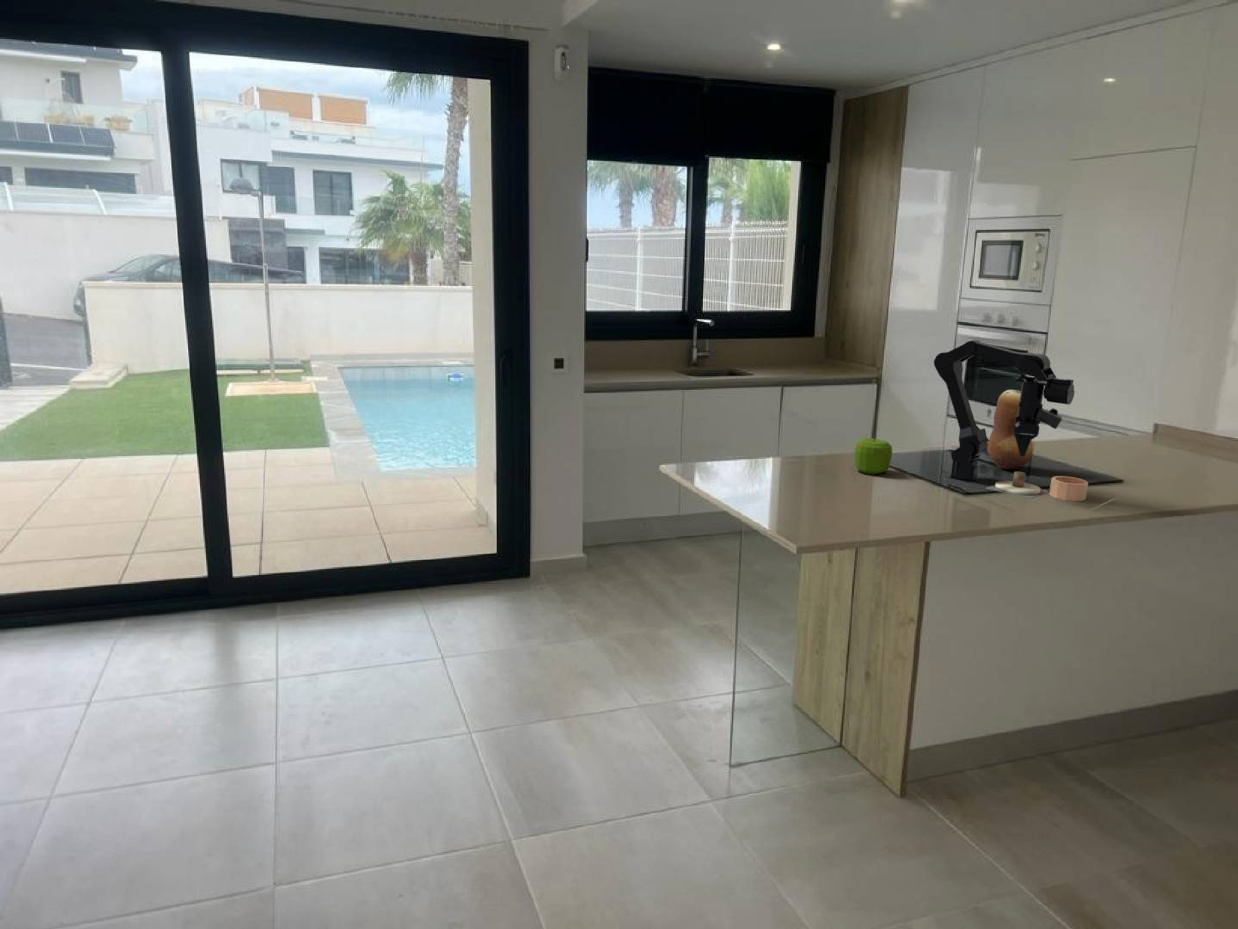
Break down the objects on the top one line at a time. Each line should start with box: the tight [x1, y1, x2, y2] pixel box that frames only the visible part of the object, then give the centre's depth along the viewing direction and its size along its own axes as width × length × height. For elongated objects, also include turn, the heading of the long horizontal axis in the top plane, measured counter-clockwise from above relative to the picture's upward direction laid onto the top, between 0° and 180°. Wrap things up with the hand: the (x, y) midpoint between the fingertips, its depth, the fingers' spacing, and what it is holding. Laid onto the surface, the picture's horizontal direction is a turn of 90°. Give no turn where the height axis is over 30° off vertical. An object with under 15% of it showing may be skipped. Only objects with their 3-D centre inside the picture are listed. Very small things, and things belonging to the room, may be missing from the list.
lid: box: [994, 471, 1042, 495], centre depth 255 cm, size 12×12×5 cm
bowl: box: [1048, 475, 1089, 502], centre depth 250 cm, size 9×9×5 cm
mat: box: [985, 484, 1050, 499], centre depth 256 cm, size 13×13×1 cm
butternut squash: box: [986, 389, 1034, 471], centre depth 279 cm, size 14×13×25 cm
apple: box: [853, 437, 893, 475], centre depth 271 cm, size 11×11×11 cm
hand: (1022, 453), depth 253 cm, fingers open, 9 cm apart
